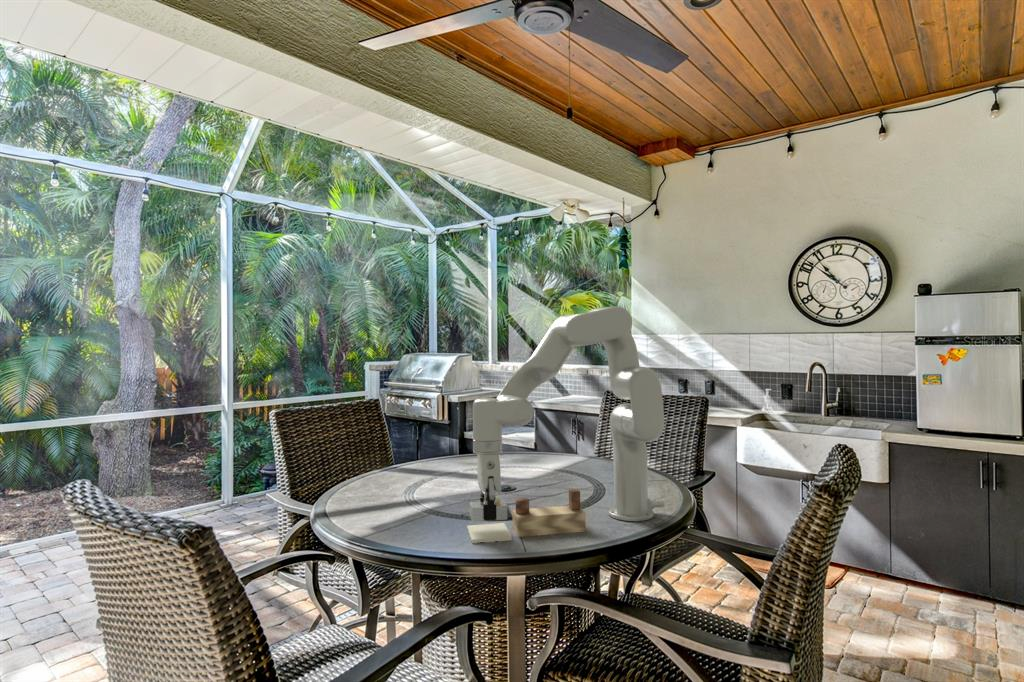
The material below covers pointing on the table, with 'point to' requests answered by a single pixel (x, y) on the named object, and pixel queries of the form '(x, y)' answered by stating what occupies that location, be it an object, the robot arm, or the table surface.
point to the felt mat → (489, 533)
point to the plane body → (549, 517)
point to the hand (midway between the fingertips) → (488, 515)
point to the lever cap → (478, 510)
